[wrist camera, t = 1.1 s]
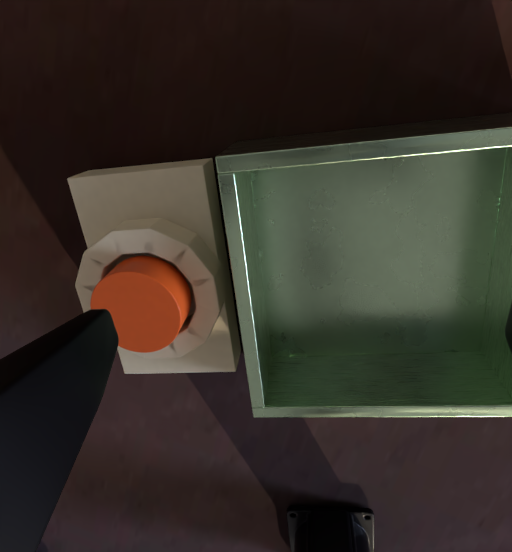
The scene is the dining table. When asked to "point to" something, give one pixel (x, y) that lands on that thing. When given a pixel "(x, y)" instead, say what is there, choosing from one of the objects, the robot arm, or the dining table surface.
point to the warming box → (374, 268)
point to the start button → (144, 302)
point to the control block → (163, 253)
